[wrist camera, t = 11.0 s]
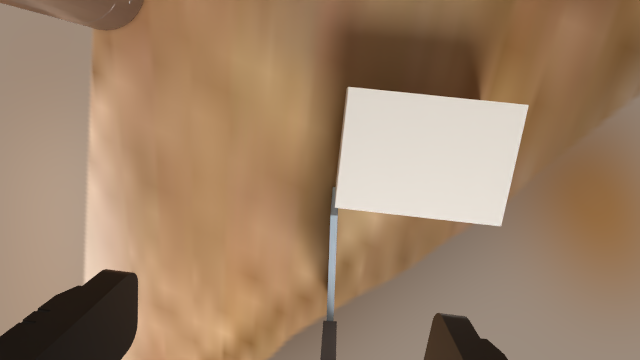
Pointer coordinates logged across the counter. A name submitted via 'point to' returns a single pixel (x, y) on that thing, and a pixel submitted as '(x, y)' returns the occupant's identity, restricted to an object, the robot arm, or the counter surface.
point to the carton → (427, 155)
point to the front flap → (330, 290)
